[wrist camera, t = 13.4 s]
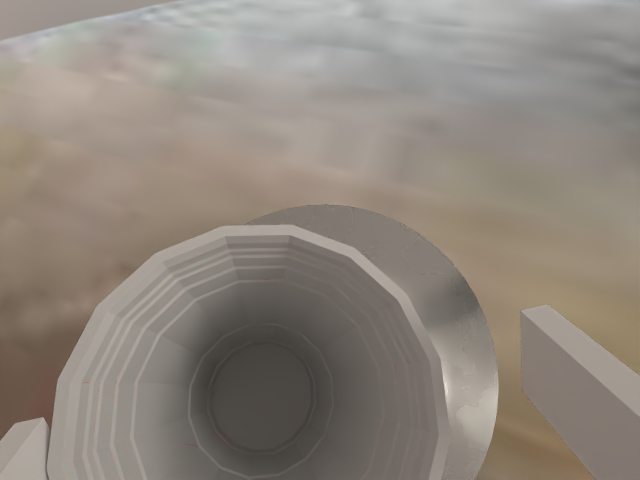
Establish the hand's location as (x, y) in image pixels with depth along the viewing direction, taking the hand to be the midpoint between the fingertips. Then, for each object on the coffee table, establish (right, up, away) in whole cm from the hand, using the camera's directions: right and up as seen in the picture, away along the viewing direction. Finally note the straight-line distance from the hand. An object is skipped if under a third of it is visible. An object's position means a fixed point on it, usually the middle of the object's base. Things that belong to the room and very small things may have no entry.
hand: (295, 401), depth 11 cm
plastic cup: (-3, -4, +11) cm, 12 cm away
